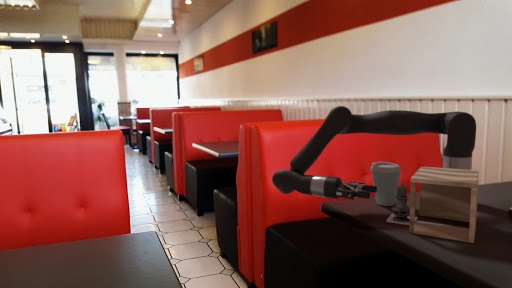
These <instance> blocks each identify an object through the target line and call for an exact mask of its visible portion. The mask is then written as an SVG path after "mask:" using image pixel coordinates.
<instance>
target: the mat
mask: <svg viewBox="0 0 512 288" xmlns="http://www.w3.org/2000/svg"><path fill="white" fill-rule="evenodd" d="M393 217H395V215H394V213H391V214H390V215H389V217H388V218H387V219H386V223H393V224H398V225H400V224H401V225H406V226H410V221H409V222H397V221H394V220H393V219H392V218H393ZM418 217H419V216H415V220H416V221H418ZM407 218H409V219H410V215H409V216H407Z"/></svg>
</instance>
